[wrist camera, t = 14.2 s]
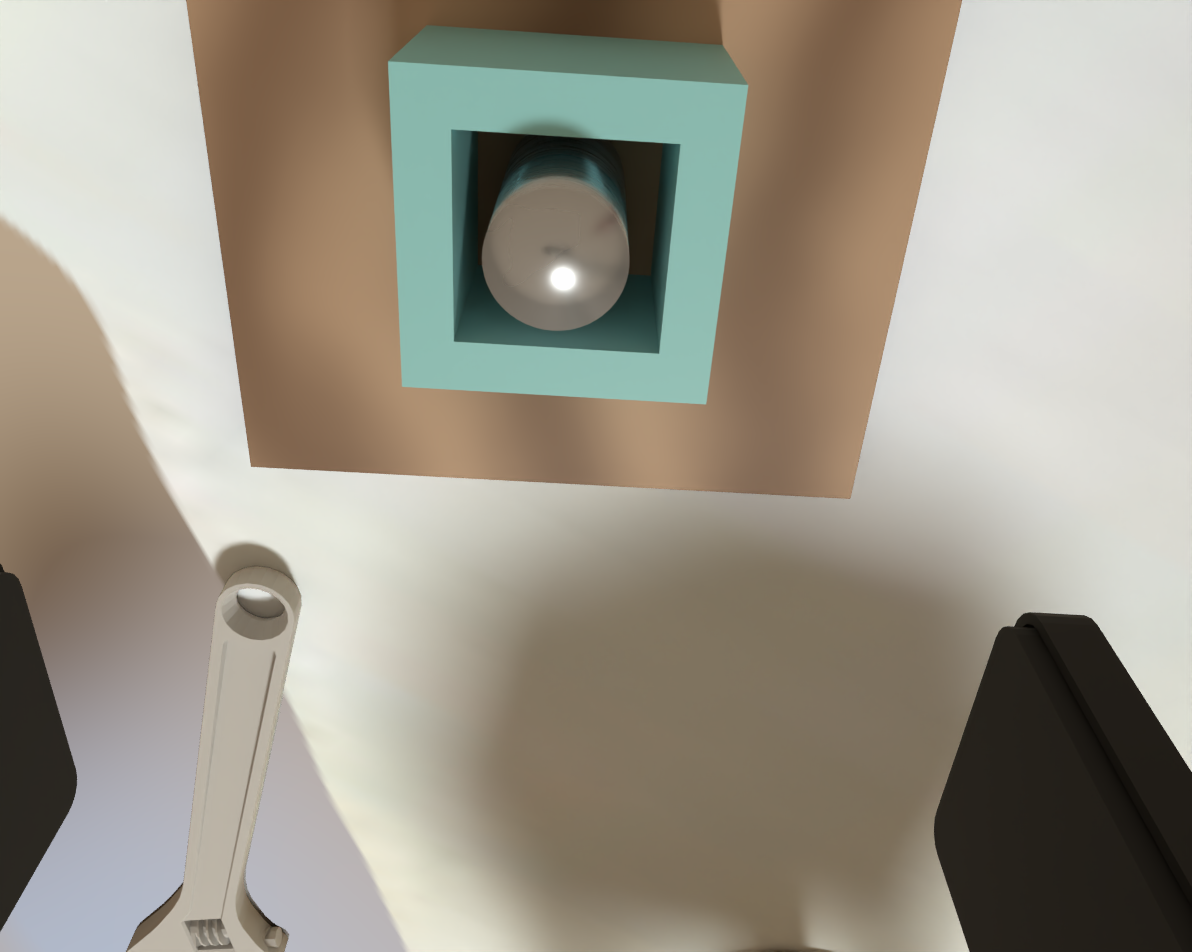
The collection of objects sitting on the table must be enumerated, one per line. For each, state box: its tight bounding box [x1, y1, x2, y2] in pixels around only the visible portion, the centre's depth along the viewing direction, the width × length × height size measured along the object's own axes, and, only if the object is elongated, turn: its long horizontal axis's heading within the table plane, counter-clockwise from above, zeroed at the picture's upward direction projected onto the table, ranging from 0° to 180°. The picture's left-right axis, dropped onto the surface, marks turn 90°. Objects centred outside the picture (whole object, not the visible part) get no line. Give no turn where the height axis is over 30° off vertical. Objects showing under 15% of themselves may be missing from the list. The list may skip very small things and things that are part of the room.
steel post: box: [482, 134, 629, 331], centre depth 23 cm, size 3×3×6 cm
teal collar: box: [388, 25, 748, 404], centre depth 24 cm, size 7×7×5 cm
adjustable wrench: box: [126, 566, 301, 952], centre depth 40 cm, size 25×6×2 cm, turn 159°
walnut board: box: [186, 0, 962, 499], centre depth 26 cm, size 18×18×2 cm
